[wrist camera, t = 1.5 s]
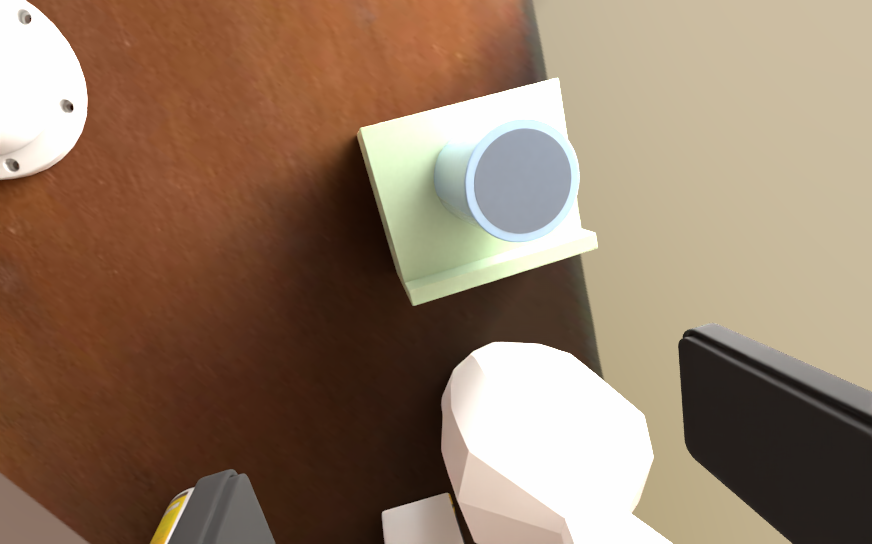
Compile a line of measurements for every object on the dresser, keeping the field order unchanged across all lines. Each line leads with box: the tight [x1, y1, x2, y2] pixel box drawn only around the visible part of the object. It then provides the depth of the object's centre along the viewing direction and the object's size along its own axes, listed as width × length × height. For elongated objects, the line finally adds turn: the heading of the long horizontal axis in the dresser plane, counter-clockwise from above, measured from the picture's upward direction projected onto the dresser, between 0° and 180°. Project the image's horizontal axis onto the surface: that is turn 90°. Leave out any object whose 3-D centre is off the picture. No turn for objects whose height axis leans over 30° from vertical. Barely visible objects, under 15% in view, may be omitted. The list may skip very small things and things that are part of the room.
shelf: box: [357, 78, 598, 306], centre depth 33 cm, size 12×14×9 cm
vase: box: [441, 342, 672, 544], centre depth 31 cm, size 14×14×25 cm
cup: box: [434, 118, 579, 243], centre depth 27 cm, size 6×6×8 cm
